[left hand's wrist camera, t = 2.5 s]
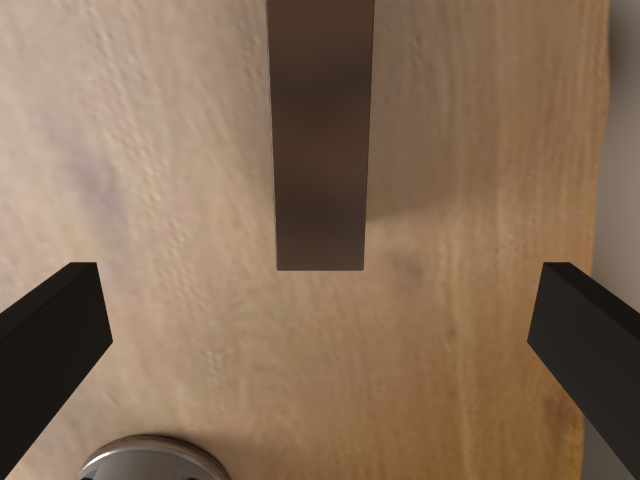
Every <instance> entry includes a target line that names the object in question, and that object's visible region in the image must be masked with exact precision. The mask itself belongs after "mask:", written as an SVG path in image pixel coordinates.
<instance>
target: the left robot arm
mask: <svg viewBox="0 0 640 480" xmlns="http://www.w3.org/2000/svg"><path fill="white" fill-rule="evenodd" d="M112 343H113V339H112V335H111V330H110V325H109V320H108V316H107V311H106V306H105V301H104V296H103V292H102V287H101V282H100V277H99V273H98V268H97V263H96V262H70V263H69V264H67V265H66V266H65V267H63V268H62V269H61V270H59V271H58V272H56V273H55V274H54V275H52V276H51V277H50V278H48V279H47V280H45V281H44V282H43V283H41V284H40V285H39V286H37V287H36V288H35V289H33V290H32V291H30V292H29V293H28V294H26V295H25V296H24V297H22V298H21V299H19V300H18V301H17V302H15V303H14V304H13V305H11V306H10V307H9V308H7V309H6V310H4V311H3V312H2V313H0V480H4V479H5V478H6V477H7V476H8V474H9V473H10V472H11V470H12V469H13V468H14V467H15V465H16V464H17V463H18V462H19V460H20V459H21V458H22V457H23V455H24V454H25V453H26V451H27V450H28V449H29V448H30V446H31V445H32V444H33V443H34V441H35V440H36V439H37V438H38V436H39V435H40V434H41V432H42V431H43V430H44V429H45V427H46V426H47V425H48V424H49V422H50V421H51V420H52V419H53V417H54V416H55V415H56V413H57V412H58V411H59V410H60V408H61V407H62V406H63V405H64V403H65V402H66V401H67V400H68V398H69V397H70V396H71V394H72V393H73V392H74V391H75V389H76V388H77V387H78V386H79V384H80V383H81V382H82V381H83V379H84V378H85V377H86V375H87V374H88V373H89V372H90V370H91V369H92V368H93V367H94V365H95V364H96V363H97V362H98V360H99V359H100V358H101V356H102V355H103V354H104V353H105V351H106V350H107V349H108V348H109V346H110V345H111V344H112ZM527 343H528V344H529V345H530V346H531V348H532V349H533V350H534V351H535V353H536V354H537V355H538V356H539V358H540V359H541V360H542V362H543V363H544V364H545V365H546V367H547V368H548V369H549V370H550V372H551V373H552V374H553V375H554V377H555V378H556V379H557V381H558V382H559V383H560V384H561V386H562V387H563V388H564V389H565V391H566V392H567V393H568V394H569V396H570V397H571V398H572V400H573V401H574V402H575V403H576V405H577V406H578V407H579V408H580V410H581V411H582V412H583V413H584V415H585V416H586V417H587V419H588V420H589V421H590V422H591V424H592V425H593V426H594V427H595V429H596V430H597V431H598V432H599V434H600V435H601V436H602V437H603V439H604V440H605V441H606V443H607V444H608V445H609V446H610V448H611V449H612V450H613V451H614V453H615V454H616V455H617V457H618V458H619V459H620V460H621V462H622V463H623V464H624V465H625V467H626V468H627V469H628V470H629V472H630V473H631V474H632V476H633V477H634V478H635V479H636V480H640V313H638V312H637V311H636V310H634V309H633V308H631V307H630V306H629V305H627V304H626V303H625V302H623V301H622V300H620V299H619V298H618V297H616V296H615V295H614V294H612V293H611V292H609V291H608V290H607V289H605V288H604V287H603V286H601V285H600V284H599V283H597V282H596V281H595V280H593V279H592V278H590V277H589V276H588V275H586V274H585V273H584V272H582V271H581V270H579V269H578V268H577V267H575V266H574V265H573V264H571V263H570V262H544V263H543V268H542V273H541V277H540V282H539V287H538V292H537V296H536V301H535V306H534V311H533V316H532V320H531V325H530V330H529V335H528V339H527ZM75 480H230V478H229V476H228V474H227V473H226V471H225V470H224V469H223V467H222V466H221V465H220V464H219V463H218V462H217V461H216V460H214V459H213V458H212V457H211V456H209V455H208V454H207V453H205V452H203V451H202V450H200V449H198V448H196V447H194V446H192V445H190V444H187V443H185V442H182V441H179V440H175V439H171V438H166V437H159V436H134V437H128V438H123V439H119V440H116V441H113V442H111V443H108V444H106V445H105V446H103V447H101V448H100V449H98V450H97V451H96V452H94V453H93V454H92V455H91V456H90V457H89V458H88V460H87V461H86V462H85V464H84V466H83V467H82V469H81V470H80V472H79V474H78V475H77V477H76V479H75Z"/></svg>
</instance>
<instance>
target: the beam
mask: <svg viewBox="0 0 640 480" xmlns="http://www.w3.org/2000/svg"><path fill="white" fill-rule="evenodd" d="M374 3H375V0H266V23H267V48H268V72H269V96H270V121H271V145H272V170H273V194H274V219H275V243H276V268H277V270H278V271H362V270H363V269H364V246H365V222H366V197H367V173H368V149H369V124H370V100H371V76H372V52H373V27H374Z"/></svg>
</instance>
